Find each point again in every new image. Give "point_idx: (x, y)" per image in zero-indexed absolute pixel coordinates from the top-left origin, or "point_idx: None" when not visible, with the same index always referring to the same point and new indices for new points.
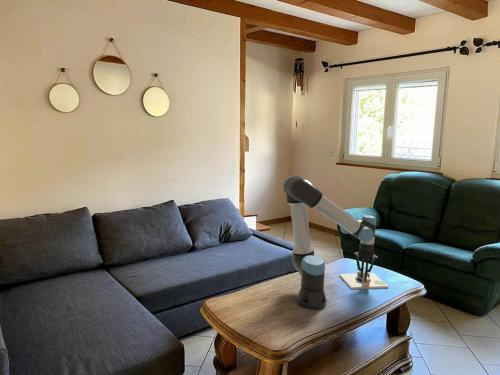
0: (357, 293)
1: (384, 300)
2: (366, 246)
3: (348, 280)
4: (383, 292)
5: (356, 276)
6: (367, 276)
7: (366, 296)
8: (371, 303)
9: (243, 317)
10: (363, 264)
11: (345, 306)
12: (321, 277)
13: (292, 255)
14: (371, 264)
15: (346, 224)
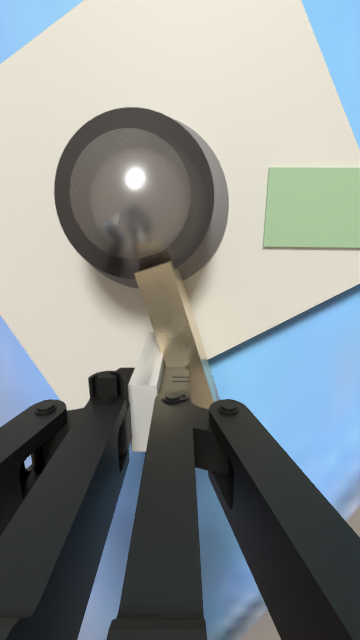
0: (139, 458)
1: (330, 493)
2: None
3: (18, 292)
4: (334, 366)
5: (65, 138)
6: (194, 342)
7: (205, 480)
8: (243, 558)
9: None
10: (86, 586)
11: (103, 632)
12: None
13: None
14: (285, 627)
15: None
